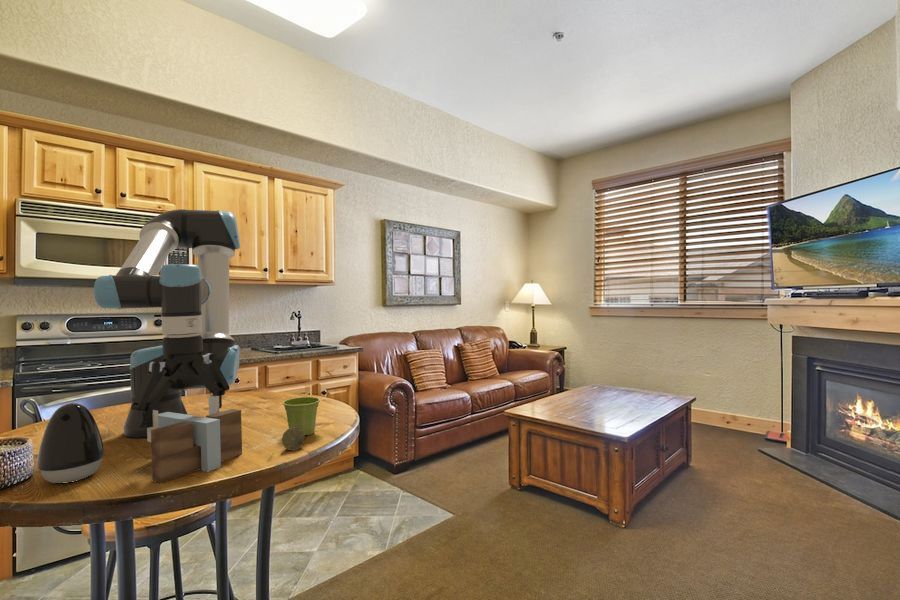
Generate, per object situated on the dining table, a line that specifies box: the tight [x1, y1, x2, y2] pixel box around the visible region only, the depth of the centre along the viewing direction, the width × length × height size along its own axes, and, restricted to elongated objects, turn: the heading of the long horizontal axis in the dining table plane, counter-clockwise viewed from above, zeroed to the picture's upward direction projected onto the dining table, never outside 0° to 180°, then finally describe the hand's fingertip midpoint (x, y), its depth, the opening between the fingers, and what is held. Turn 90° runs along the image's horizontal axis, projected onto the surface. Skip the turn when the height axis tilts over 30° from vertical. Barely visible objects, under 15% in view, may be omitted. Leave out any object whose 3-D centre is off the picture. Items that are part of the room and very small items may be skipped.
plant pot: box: [282, 396, 321, 436], centre depth 116 cm, size 9×9×9 cm
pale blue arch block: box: [158, 412, 222, 473], centre depth 97 cm, size 18×3×10 cm, turn 63°
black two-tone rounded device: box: [36, 402, 105, 484], centre depth 89 cm, size 10×10×15 cm
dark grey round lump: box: [281, 427, 306, 452], centre depth 104 cm, size 4×5×5 cm
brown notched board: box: [150, 408, 243, 484], centre depth 95 cm, size 3×18×10 cm, turn 153°
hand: (185, 432), depth 97 cm, fingers open, 13 cm apart
